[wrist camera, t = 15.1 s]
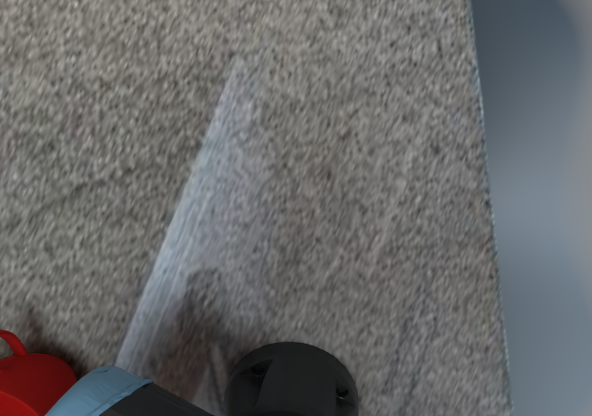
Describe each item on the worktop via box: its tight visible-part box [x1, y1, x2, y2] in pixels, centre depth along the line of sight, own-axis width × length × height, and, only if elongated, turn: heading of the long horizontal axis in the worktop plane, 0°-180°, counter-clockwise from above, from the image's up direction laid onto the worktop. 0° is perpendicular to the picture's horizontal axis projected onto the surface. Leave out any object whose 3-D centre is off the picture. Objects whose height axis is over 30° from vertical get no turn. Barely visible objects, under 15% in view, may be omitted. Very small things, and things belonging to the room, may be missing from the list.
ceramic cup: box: [0, 330, 77, 416], centre depth 52 cm, size 13×17×10 cm
